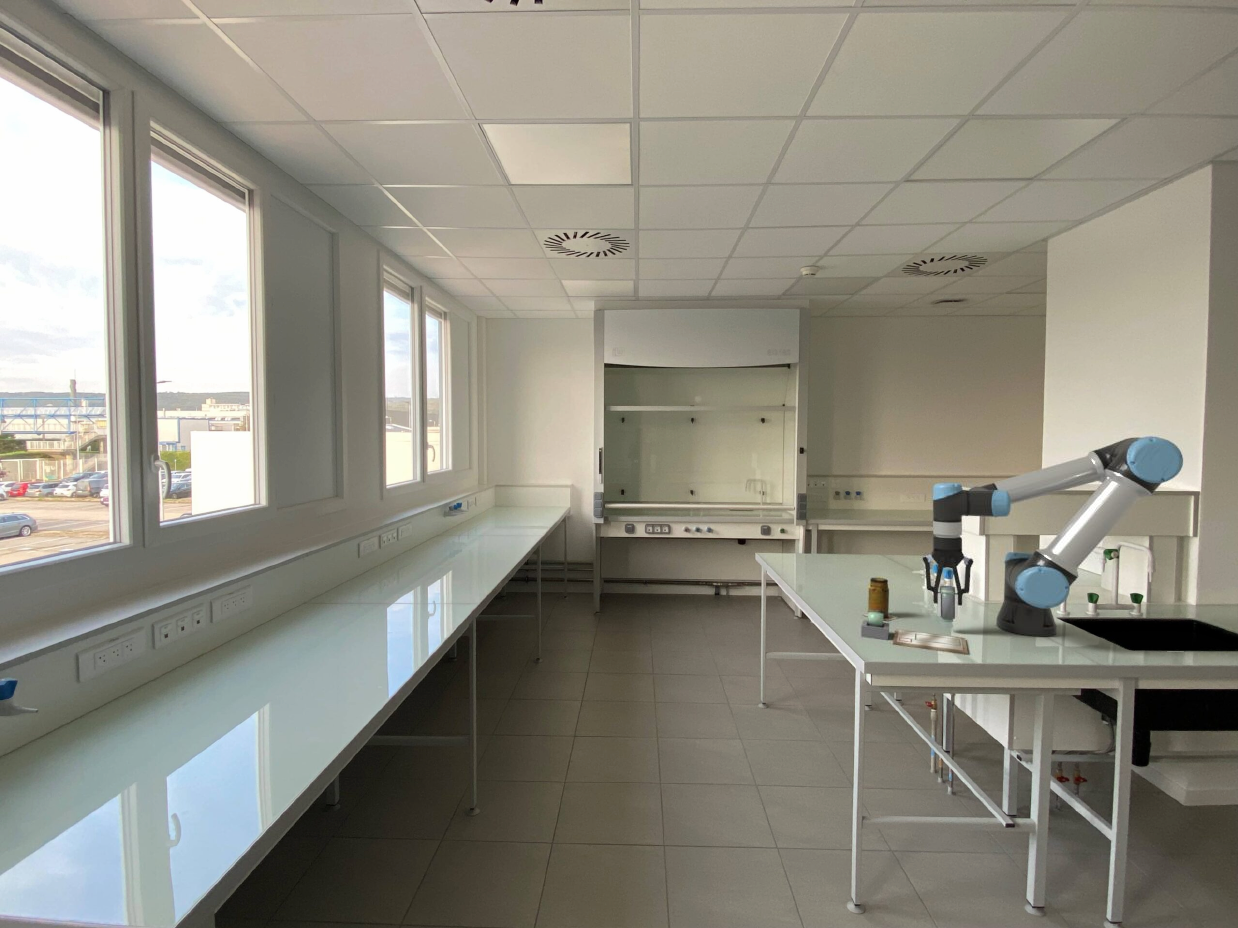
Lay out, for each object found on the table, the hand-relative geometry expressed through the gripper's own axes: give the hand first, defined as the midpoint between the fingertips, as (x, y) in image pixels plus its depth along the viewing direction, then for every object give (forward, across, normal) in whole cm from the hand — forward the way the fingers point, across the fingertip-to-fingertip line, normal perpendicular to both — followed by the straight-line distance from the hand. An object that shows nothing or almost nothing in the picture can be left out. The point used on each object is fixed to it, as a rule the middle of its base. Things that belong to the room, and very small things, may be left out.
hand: (947, 615), depth 186 cm
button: (+1, +19, +13) cm, 23 cm away
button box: (+4, +19, +13) cm, 23 cm away
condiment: (+5, +19, -9) cm, 21 cm away
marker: (+2, 0, 0) cm, 2 cm away
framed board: (+5, +5, +13) cm, 15 cm away
